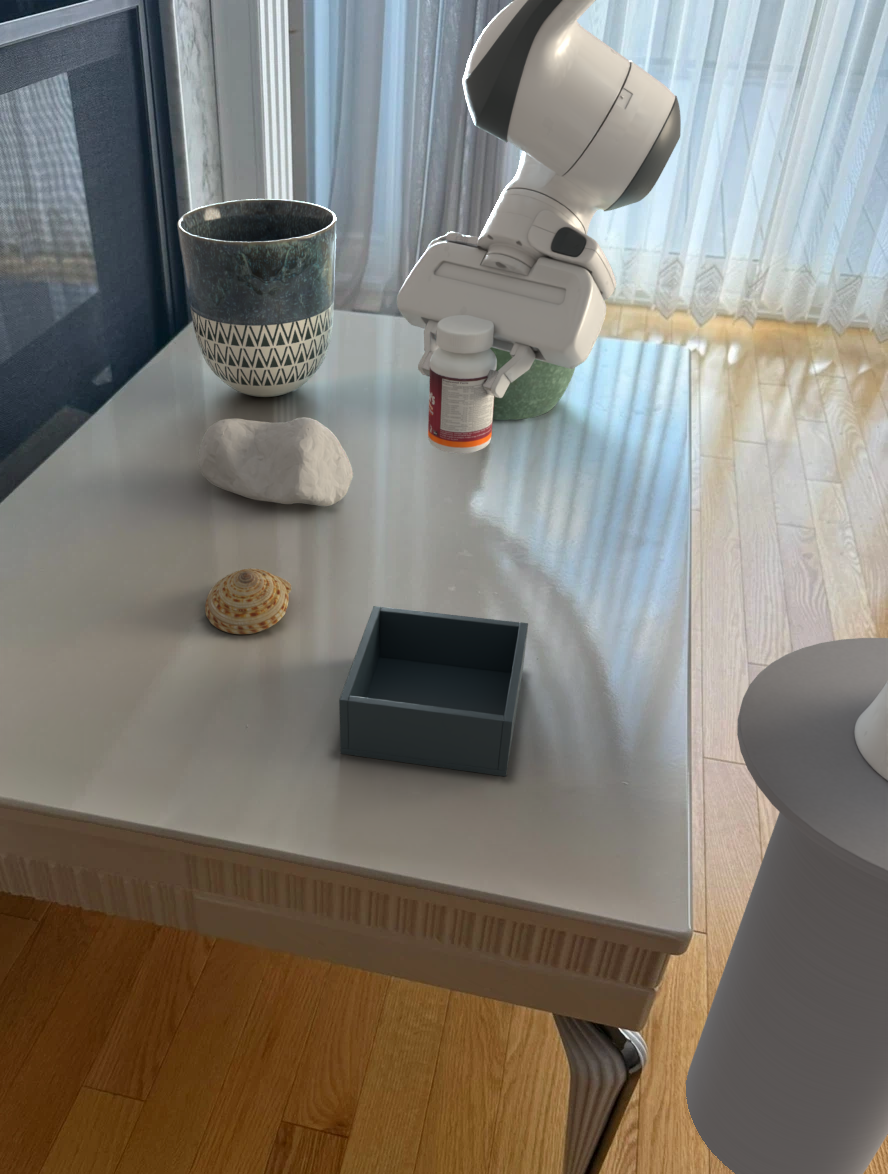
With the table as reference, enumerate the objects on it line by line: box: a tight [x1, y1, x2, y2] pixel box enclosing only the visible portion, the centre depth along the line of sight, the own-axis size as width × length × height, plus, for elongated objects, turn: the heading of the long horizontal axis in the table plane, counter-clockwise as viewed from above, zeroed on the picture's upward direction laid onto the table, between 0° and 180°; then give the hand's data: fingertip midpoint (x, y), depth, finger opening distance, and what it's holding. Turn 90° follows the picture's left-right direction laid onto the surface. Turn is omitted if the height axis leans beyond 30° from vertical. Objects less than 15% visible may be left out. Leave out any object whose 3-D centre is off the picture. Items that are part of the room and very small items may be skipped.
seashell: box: [204, 568, 292, 635], centre depth 100 cm, size 8×6×8 cm
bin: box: [338, 605, 529, 777], centre depth 87 cm, size 13×13×6 cm
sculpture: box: [490, 347, 576, 421], centre depth 132 cm, size 19×16×20 cm
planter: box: [176, 198, 337, 398], centre depth 135 cm, size 20×20×21 cm
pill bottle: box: [427, 315, 497, 454], centre depth 98 cm, size 6×6×11 cm
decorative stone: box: [197, 416, 354, 508], centre depth 117 cm, size 17×10×10 cm
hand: (458, 383), depth 97 cm, fingers closed on pill bottle, 6 cm apart
